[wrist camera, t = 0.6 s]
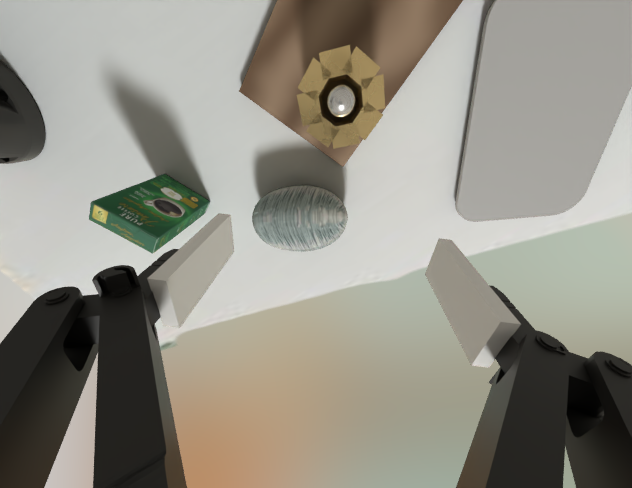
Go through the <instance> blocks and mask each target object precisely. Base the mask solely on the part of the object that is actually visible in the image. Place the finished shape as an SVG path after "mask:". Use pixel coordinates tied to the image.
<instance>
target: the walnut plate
mask: <svg viewBox="0 0 632 488" xmlns="http://www.w3.org/2000/svg"><path fill="white" fill-rule="evenodd" d="M462 1H463V0H277V2H276V4H275V7H274V9H273V11H272V14H271V16H270V19H269V21H268V23H267V26H266V28H265V31H264V33H263V35H262V38H261V40H260V43H259V45H258V47H257V50H256V52H255V54H254V57H253V59H252V62H251V64H250V66H249V69H248V71H247V74H246V76H245V78H244V81H243V83H242V86H241V88H240V90H239V92H241V93H242V94H244V95H245V96H246V97H248V98H249V99H250V100H252V101H253V102H255V103H256V104H257V105H259V106H260V107H261V108H263V109H264V110H266V111H267V112H268V113H270V114H271V115H272V116H274V117H275V118H277V119H278V120H279V121H281V122H282V123H283V124H285V125H286V126H288V127H289V128H290V129H292V130H293V131H294V132H296V133H297V134H299V135H300V136H301V137H303V138H304V139H305V140H307V141H308V142H310V143H311V144H312V145H314V146H315V147H316V148H318V149H319V150H321V151H322V152H323V153H325V154H326V155H327V156H329V157H330V158H332V159H333V160H334V161H336V162H337V163H338V164H340V165H341V166H344V165H345V163H346V162H347V161H348V159H349V158H350V157H351V155H352V154H353V152H354V151H355V150H356V148H357V147H358V145H359V144H355V145H350V146H345V147H340V148H335V149H333V143H332V142H331V144H330V145H329V147H327V146H325V145H324V144H323V143H321V142H320V141H319V140H317V139H316V138H314V137H313V136H312V135H310V134H309V133H308V132H306V131H307V129H308V127H309V126H310V125H306V126H303V124H302V119H301V114H300V109H299V104H298V99H297V95H298V94H302V93H303V92H302V91H301V90H300V89H298V86H299V84H300V82H301V80H302V78H303V76H304V75H305V73H306V71H307V69H308V67H309V65H310V63H311V61H312V59H313V57H314V58H315V59H316V60H317V61H318V62H320V57H319V53H320V52H324V51H328V50H332V49H336V48H339V47H343V46H347V45H350V51H351V54H352V53H353V51H354V49H355V48H356V46H357V47H358V48H359V49H360V50H361V51H362V52H363V53H365V54H366V55H367V56H368V57H369V58H370V59H371V60H372V61H374V62H375V63H376V64H377V65H378V66H379V67H380V69H379V71H378V72H377V74H376V75H375V76H378V75H382V74H383V75H384V95H385V108H386V107H387V105H388V104H389V102H390V101H391V100H392V98H393V97H394V95H395V94H396V93H397V91H398V90H399V88H400V87H401V86H402V84H403V83H404V82H405V80H406V79H407V77H408V76H409V75H410V73H411V72H412V70H413V69H414V68H415V66H416V65H417V63H418V62H419V61H420V59H421V58H422V56H423V55H424V54H425V52H426V51H427V50H428V48H429V47H430V45H431V44H432V43H433V41H434V40H435V38H436V37H437V36H438V34H439V33H440V31H441V30H442V29H443V27H444V26H445V25H446V23H447V22H448V20H449V19H450V18H451V16H452V15H453V13H454V12H455V11H456V9H457V8H458V6H459V5H460V4H461V2H462ZM385 108H384V109H385ZM384 109H380V110H378V111H379V112H380V113H382V112H383V111H384ZM359 140H360V143H361V141H362V140H363V138H361V137H360V136H359Z"/></svg>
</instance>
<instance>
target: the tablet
mask: <svg viewBox="0 0 632 488" xmlns="http://www.w3.org/2000/svg"><path fill="white" fill-rule="evenodd" d="M631 87H632V0H494V2H493V3H492V5H491V7H490V9H489V11H488V13H487V16H486V18H485V22H484V27H483V33H482V39H481V45H480V52H479V58H478V64H477V70H476V77H475V83H474V89H473V96H472V102H471V108H470V114H469V121H468V127H467V133H466V139H465V146H464V152H463V158H462V164H461V171H460V177H459V183H458V189H457V196H456V203H455V206H456V210H457V212H458V214H459V215H460V216H461V217H463V218H464V219H466V220H468V221H473V222H478V221H490V220H502V219H514V218H526V217H538V216H550V215H557V214H560V213H563V212H565V211H567V210H569V209H571V208H572V207H573V206H575V205H576V204H577V203H578V202H579V201H580V200H581V199H582V198H583V196H584V195H585V193H586V191H587V189H588V186H589V184H590V182H591V179H592V177H593V175H594V173H595V170H596V168H597V166H598V163H599V161H600V159H601V156H602V154H603V152H604V149H605V147H606V145H607V142H608V140H609V138H610V135H611V133H612V131H613V128H614V126H615V124H616V121H617V119H618V117H619V114H620V112H621V110H622V107H623V105H624V103H625V100H626V98H627V96H628V94H629V91H630V89H631Z"/></svg>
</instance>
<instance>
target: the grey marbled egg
mask: <svg viewBox="0 0 632 488" xmlns="http://www.w3.org/2000/svg"><path fill="white" fill-rule="evenodd" d="M347 218H348V216H347V211H346V208H345V206H344V204H343V203H342V201H341V200H340V199H339V198H338V197H337V196H336V195H334V194H333V193H331V192H330V191H328V190H326V189H323V188H320V187H315V186H308V185H300V186H291V187H286V188H281V189H278V190H275V191H273V192H270V193H268V194H267V195H265V196H264V197H263V198H262V199H260V200H259V202H258V203H257V204H256V206H255V209H254V211H253V216H252V220H253V226H254V228H255V231H256V233H257V234H258V235H259V237H260V238H261V239H262V240H263V241H265V242H266V243H267V244H269V245H271V246H273V247H276V248H279V249H283V250H289V251H311V250H316V249H320V248H323V247H325V246H328V245H330V244H331V243H333V242H334V241H336V240H337V239H338V238H339V237H340V235H341V234H342V233H343V231H344V229H345V227H346V223H347Z"/></svg>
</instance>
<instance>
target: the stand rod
mask: <svg viewBox="0 0 632 488" xmlns="http://www.w3.org/2000/svg"><path fill="white" fill-rule="evenodd" d="M321 98H322V104H323V111H324V114H325V115H326V116H327V117H329V118H330V119H331V120H333V121H334V122H335V123H338V122H342V121H347V120H350V119H351V117H352V116H353V114H354V113H355V111H356V110H357V108H358V107H359V101H358V90H357V88H356V87H354V86H353V85H352V84H351V83H350V82H348V81H347V80H346V79H343V80H339V81H334V82H330V83H329V85H328V87H327V89H326V90H325V92H324V94H323V95H322V97H321Z"/></svg>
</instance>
